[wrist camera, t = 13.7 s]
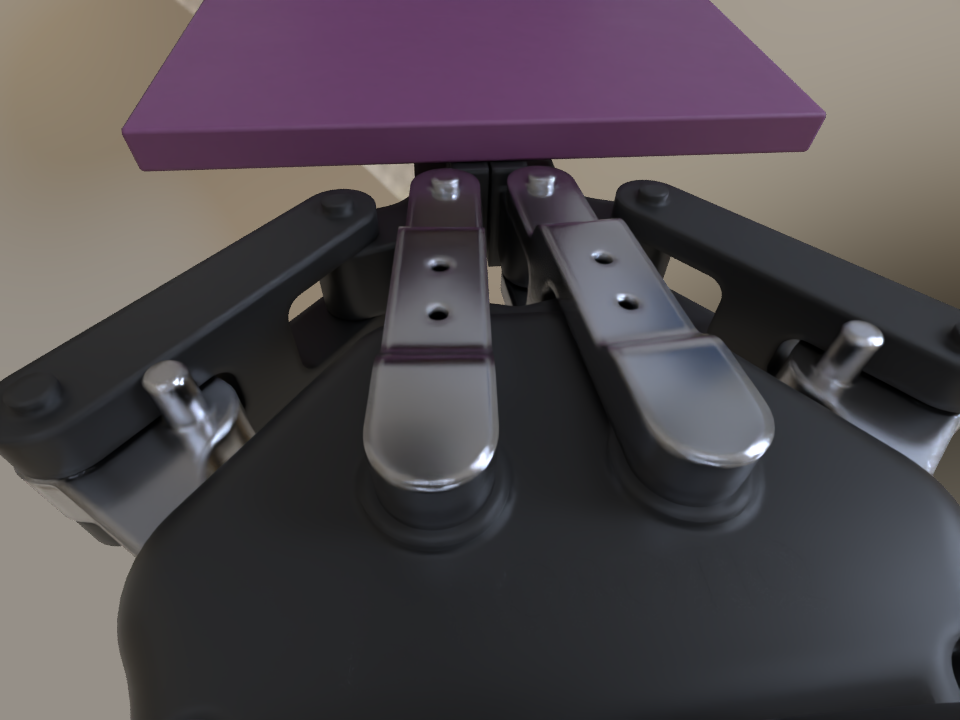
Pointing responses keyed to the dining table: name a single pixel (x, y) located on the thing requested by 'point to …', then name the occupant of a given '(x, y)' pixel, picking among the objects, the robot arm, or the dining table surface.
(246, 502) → the robot arm
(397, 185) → the dining table surface
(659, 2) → the lid
